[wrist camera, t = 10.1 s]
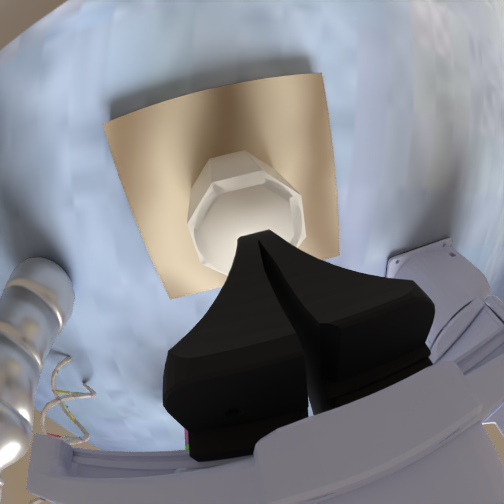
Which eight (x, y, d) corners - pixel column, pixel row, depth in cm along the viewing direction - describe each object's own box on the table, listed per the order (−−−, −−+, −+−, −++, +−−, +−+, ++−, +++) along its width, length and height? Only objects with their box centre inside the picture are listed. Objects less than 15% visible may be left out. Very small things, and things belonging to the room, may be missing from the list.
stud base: (313, 74, 16) (352, 67, 11) (332, 246, 23) (362, 284, 18) (110, 122, 15) (76, 131, 10) (171, 287, 22) (166, 336, 18)
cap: (269, 144, 16) (297, 162, 12) (282, 220, 19) (309, 262, 15) (184, 165, 16) (176, 191, 11) (206, 239, 19) (209, 288, 14)
